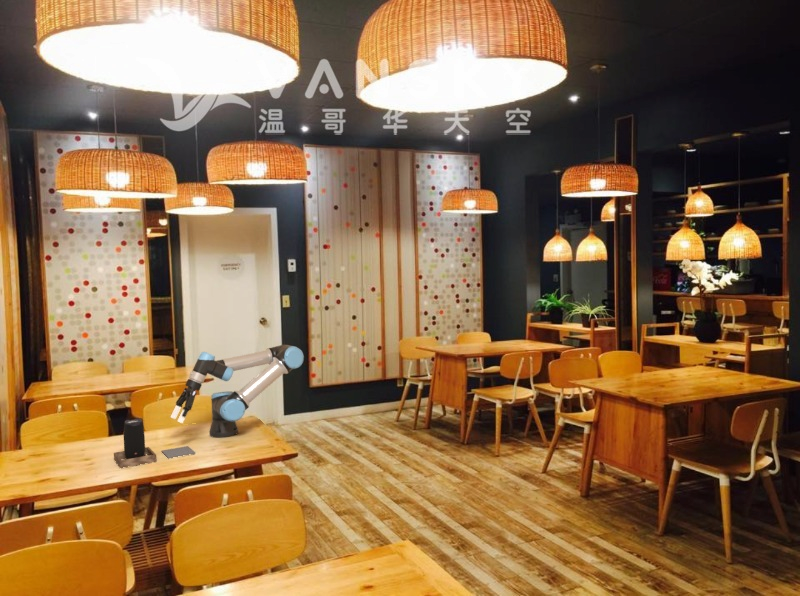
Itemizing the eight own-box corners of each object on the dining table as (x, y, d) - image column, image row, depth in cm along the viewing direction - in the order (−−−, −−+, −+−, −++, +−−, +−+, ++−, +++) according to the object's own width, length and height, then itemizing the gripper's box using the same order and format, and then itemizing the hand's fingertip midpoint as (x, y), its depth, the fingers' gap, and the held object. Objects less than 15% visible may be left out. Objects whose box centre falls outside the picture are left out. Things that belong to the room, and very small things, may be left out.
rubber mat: (188, 447, 325) (187, 446, 325) (195, 454, 314) (195, 452, 314) (161, 452, 318) (161, 450, 318) (167, 459, 307) (167, 457, 307)
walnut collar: (149, 453, 316) (148, 446, 316) (156, 462, 303) (156, 454, 302) (114, 459, 307) (113, 452, 307) (120, 468, 294) (119, 461, 294)
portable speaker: (142, 463, 301) (140, 422, 300) (121, 464, 300) (119, 423, 299) (148, 457, 310) (146, 417, 308) (128, 458, 309) (126, 418, 308)
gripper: (182, 376, 336) (163, 413, 331) (195, 380, 316) (175, 421, 310) (195, 381, 340) (176, 419, 335) (209, 386, 319) (189, 426, 314)
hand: (176, 420), depth 322 cm, fingers open, 13 cm apart
